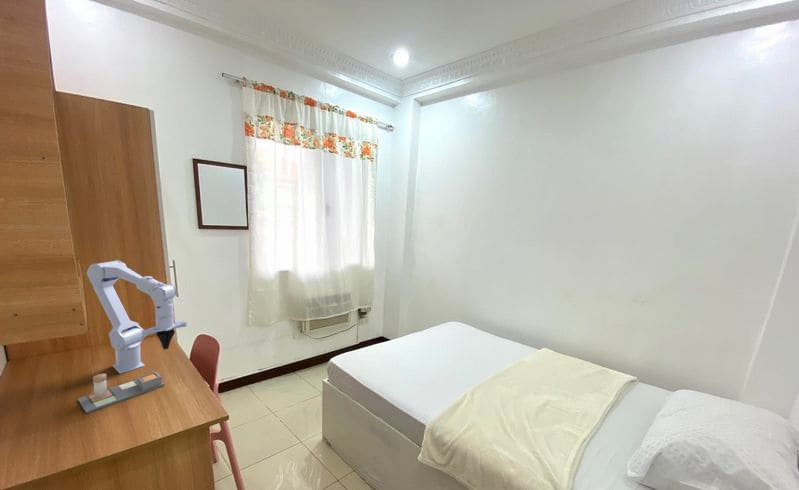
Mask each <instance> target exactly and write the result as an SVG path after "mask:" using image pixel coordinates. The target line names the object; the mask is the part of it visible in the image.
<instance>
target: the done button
mask: <svg viewBox="0 0 799 490" xmlns="http://www.w3.org/2000/svg"><path fill="white" fill-rule="evenodd" d="M156 377H157V376H156V375H155V374H151V375H148V376H145V377H142V378H141V379H142V380H143V381H147V380H150V379H153V378H156Z"/></svg>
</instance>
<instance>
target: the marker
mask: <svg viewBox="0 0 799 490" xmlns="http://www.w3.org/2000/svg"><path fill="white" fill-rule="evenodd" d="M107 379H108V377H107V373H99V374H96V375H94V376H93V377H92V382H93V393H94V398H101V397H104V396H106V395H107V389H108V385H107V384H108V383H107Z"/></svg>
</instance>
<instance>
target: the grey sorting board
mask: <svg viewBox="0 0 799 490" xmlns="http://www.w3.org/2000/svg"><path fill="white" fill-rule="evenodd" d="M151 374H155V375H156V376H157V377H156V378H153V379H150V380H147V381H143V380H142V379H141V378H142V377H145V376H148V375H151ZM164 386H165V383H164V382H163V381H162V376H161V375H160V374H159V373H158V372H157V371H152V372H149V373H147V374H143V375H140V376H137V377H136V379H133V380H131V381H128V382H125V383H122V384H119V385H115V386H112V387H109V388H107V395H106V396H104V397H101V398H94V392H93V393H91V394H87V395H85V396H81V397H78V398H77V401H78V403H79V405H80V406H81V407H82V409H83V410H84V412H85V414H89V413H92V412H95V411H97V410H101V409H103V408H107V407H108V406H111V405H114V404H118V403H119V402H123V401H125V400H129V399H131V398H133V397H136V396H139V395H142V394H145V393H147V392H150V391H153V390H155V389H158V388H162V387H164Z"/></svg>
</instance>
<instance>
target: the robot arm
mask: <svg viewBox="0 0 799 490" xmlns="http://www.w3.org/2000/svg"><path fill="white" fill-rule="evenodd" d="M86 275H87V277H88V280H89V282H90V284H91V285H92V287H93V290H94V292H95V294H96V296H97V298H98V300H99V302H100V304H101V306H102V308H103V311H105V314H106V315H107V317H108V320H109V321H110V323H111V326H112V329H111V330H110V332H108V337H109V341H110V345H111V347H112V348H113V349H114V350H115V351H114V352H115V364H113V365H112V368H114V370H116V371H117V372H118V374H120V375H121V374H123V373H126V372H130V371H134V370H136V369H140V368H143V367H145V366H146V365H145V364H144V362H143V361H142V359H141V344H142V343H143V342H142V341H143V340H144V339H145V337H147V336H150V335H154V334H155V335H156V336H157V338H158V340H159V341H160V343H161V347H162V349H163V350H168V349H169V347H170V344H171V341H172V339H173V337H174V335H175V334H176V330H175V329H180V328H186V327H187V326H188V325H187V321H186V320H182V321H176V322H174V320H175V319H174V297H176V296H177V294H178V293H177V291H178V290H177V288H176V287H175V285H173V284H171V283H167V284H165V283H163V282H160V281H159V280H156V279H154V277H153V276H149V275H147V276H142V275H141V274H139V273H137V272H136V271H133V269H131V268H128V267H127V264H126V263H124V262H123V261H121V260H116V259H115V260H112V261H105V262H100V263H92V264H90V265H89V267H88V269H87V271H86ZM119 279H123V280H125V281H127V282H129V283H132V284H134V285H135V287H136V289H137V290H139V291H141V292H143V293H144V294H146V295H149V296H150V298H151V300H152V302H153V305H154V308H155V310H154V311H155V313H154V314H155V326H153V327H150V328H147V329H144V328H142V327H141V326H140V324H139V322H136V321H133V320H131V319H130V318H129V316H128V314H127V313H128V312H127V311H126V310H125V308H124V305H123V304H122V302H121V300H120V298H119V296H118V294H117V292H116V289H115V288H114V285H115V283H116V282H117V281H118V280H119Z"/></svg>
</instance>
